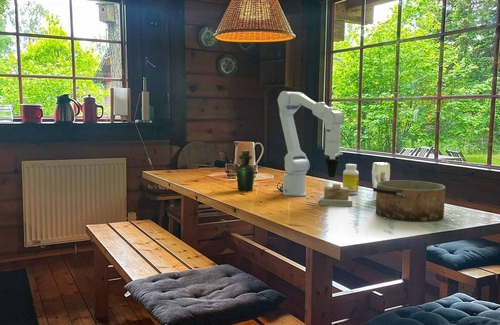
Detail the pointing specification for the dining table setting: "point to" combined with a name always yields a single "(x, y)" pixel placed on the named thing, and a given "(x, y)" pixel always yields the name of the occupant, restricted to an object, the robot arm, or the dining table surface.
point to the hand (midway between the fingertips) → (331, 175)
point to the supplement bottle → (351, 178)
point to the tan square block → (336, 186)
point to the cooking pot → (410, 200)
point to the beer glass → (380, 174)
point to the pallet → (336, 193)
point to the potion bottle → (245, 172)
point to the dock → (335, 201)
